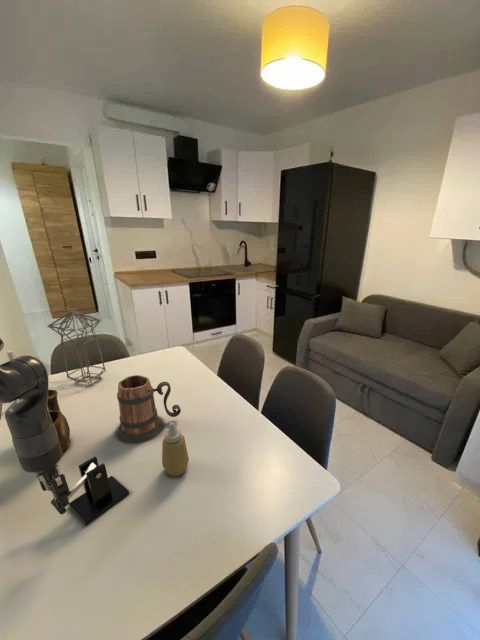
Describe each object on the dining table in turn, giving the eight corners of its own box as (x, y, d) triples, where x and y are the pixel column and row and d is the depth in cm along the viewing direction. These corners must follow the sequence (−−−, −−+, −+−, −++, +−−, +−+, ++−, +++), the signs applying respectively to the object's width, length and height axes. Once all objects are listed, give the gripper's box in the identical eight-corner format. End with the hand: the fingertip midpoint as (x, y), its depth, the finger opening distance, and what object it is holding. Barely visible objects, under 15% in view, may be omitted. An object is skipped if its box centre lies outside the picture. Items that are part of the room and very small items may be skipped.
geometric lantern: (113, 376, 144) (101, 308, 130) (89, 392, 130) (73, 317, 116) (86, 372, 147) (72, 304, 133) (60, 387, 133) (40, 313, 119)
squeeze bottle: (190, 459, 96) (187, 414, 89) (188, 478, 89) (185, 431, 82) (165, 461, 95) (159, 416, 88) (161, 481, 88) (155, 433, 80)
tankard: (116, 448, 99) (106, 398, 91) (116, 420, 113) (107, 375, 105) (185, 431, 109) (181, 385, 101) (177, 407, 123) (173, 365, 115)
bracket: (86, 525, 74) (75, 489, 69) (69, 506, 79) (58, 471, 73) (129, 493, 83) (122, 459, 78) (112, 478, 88) (105, 445, 83)
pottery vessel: (78, 464, 92) (64, 412, 84) (35, 480, 86) (16, 425, 78) (68, 423, 110) (56, 377, 102) (33, 433, 104) (17, 385, 96)
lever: (63, 516, 70) (57, 512, 69) (54, 505, 73) (47, 501, 71) (104, 472, 77) (99, 468, 75) (95, 463, 79) (89, 459, 78)
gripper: (5, 439, 64) (25, 492, 71) (30, 469, 57) (51, 525, 63) (43, 423, 70) (59, 473, 76) (71, 448, 63) (86, 501, 69)
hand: (55, 497), depth 70 cm, fingers open, 8 cm apart
